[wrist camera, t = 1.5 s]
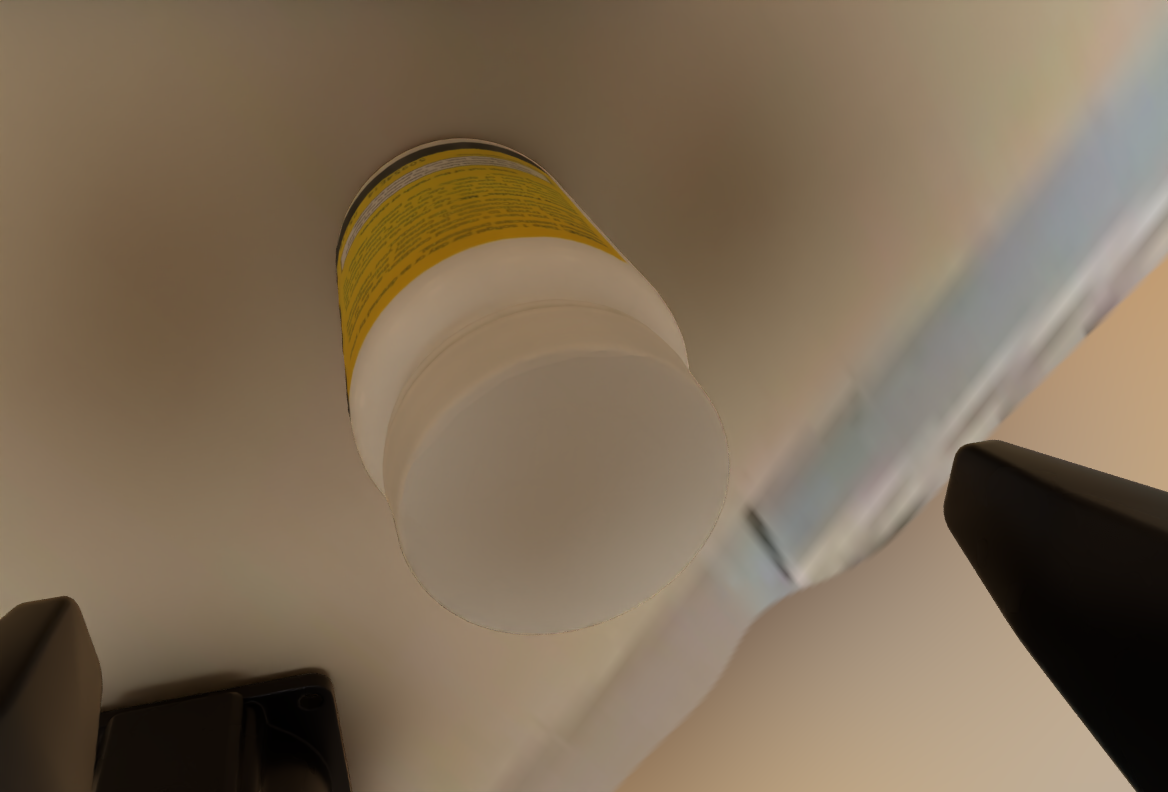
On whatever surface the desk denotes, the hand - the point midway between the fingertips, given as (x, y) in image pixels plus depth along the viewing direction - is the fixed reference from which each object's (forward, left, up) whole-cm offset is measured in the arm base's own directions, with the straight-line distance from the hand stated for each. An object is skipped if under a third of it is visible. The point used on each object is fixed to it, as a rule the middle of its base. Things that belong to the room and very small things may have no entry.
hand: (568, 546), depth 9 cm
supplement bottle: (0, 0, -10) cm, 10 cm away
